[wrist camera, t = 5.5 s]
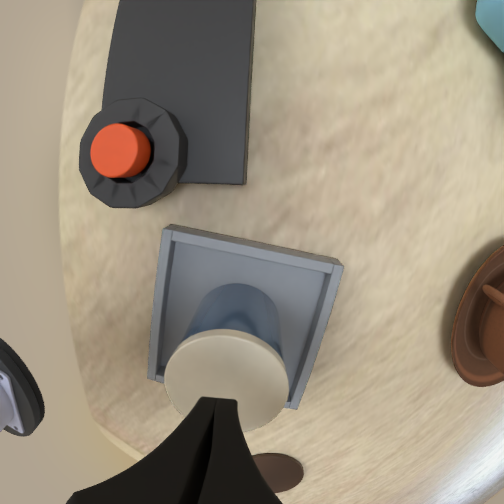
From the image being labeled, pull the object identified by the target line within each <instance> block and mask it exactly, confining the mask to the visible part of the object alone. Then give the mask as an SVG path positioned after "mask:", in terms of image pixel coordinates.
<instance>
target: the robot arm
mask: <svg viewBox="0 0 504 504" xmlns="http://www.w3.org/2000/svg"><path fill="white" fill-rule="evenodd" d="M6 425H8V426H9V427H11V428H13V429H15V430H16V431H18V432H20V433H24V431H25V430H24V427H23V424H22V420H21V417H20V414H19V410H18V407H17V403H16V399H15V396H14V392H13V388H12V383H11V379H10V377H9V376H8V374H6V373H4V372H3V371H1V370H0V432H1V431H2V430H3V429H4V428H5V426H6ZM66 504H282V502H281V501H280V500H279V499H278V497H277V496H276V495H275V493H274V492H273V491H272V489H271V488H270V487H269V485H268V484H267V482H266V481H265V479H264V477H263V476H262V474H261V472H260V471H259V469H258V467H257V465H256V463H255V461H254V459H253V457H252V455H251V453H250V451H249V448H248V446H247V443H246V441H245V438H244V435H243V432H242V429H241V425H240V421H239V416H238V402H237V401H236V400H235V399H226V398H215V397H204V396H202V397H200V398H199V400H198V401H197V403H196V404H195V406H194V407H193V408H192V410H191V411H190V412H189V414H188V415H187V416H186V418H185V419H184V420H183V421H182V422H181V423H180V425H179V426H178V427H177V428H176V429H175V430H174V431H173V432H172V433H171V434H170V435H169V436H168V437H167V438H166V439H165V440H164V441H163V442H162V443H161V444H160V445H159V446H158V447H157V448H156V449H154V450H153V451H152V452H151V453H149V454H148V455H147V456H146V457H144V458H143V459H142V460H140V461H139V462H137V463H136V464H134V465H133V466H131V467H130V468H128V469H127V470H125V471H123V472H121V473H120V474H118V475H116V476H114V477H112V478H110V479H108V480H106V481H104V482H101V483H99V484H97V485H94V486H92V487H89V488H86V489H83V490H80V491H77V492H74V493H73V495H72V496H71V497H70V499H69V500H68V501H67V503H66Z"/></svg>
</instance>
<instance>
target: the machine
mask: <svg viewBox="0 0 504 504" xmlns="http://www.w3.org/2000/svg"><path fill="white" fill-rule="evenodd" d="M255 12H256V0H120V1H119V6H118V10H117V14H116V19H115V24H114V29H113V34H112V39H111V45H110V50H109V56H108V63H107V69H106V77H105V84H104V92H103V101H102V110H101V111H100V112H99V113H97V114H96V115H95V116H94V117H93V118H92V120H91V122H90V124H89V126H88V127H87V129H86V131H85V133H84V135H83V137H82V139H81V142H80V154H79V170H80V173H81V175H82V177H83V179H84V181H85V184H86V186H87V188H88V190H89V192H90V194H92V195H93V196H94V197H96V198H97V199H99V200H100V201H102V202H103V203H105V204H106V205H108V206H109V207H112V208H139V207H143V206H147V205H151V204H152V203H154V202H156V201H158V200H159V199H161V198H163V197H164V196H166V195H168V194H169V193H171V192H172V191H173V190H174V188H175V186H176V185H177V183H197V184H230V185H244V184H246V180H247V159H248V139H249V120H250V100H251V82H252V64H253V46H254V29H255ZM115 123H119V124H124V125H127V126H130V127H132V128H135V129H138V130H140V131H142V132H143V133H144V134H145V135H146V136H147V138H148V140H149V142H150V147H151V154H150V159H149V162H148V164H147V165H146V167H145V168H144V169H143V170H142V171H141V172H140V173H139V174H137V175H135V176H133V177H123V178H109V177H105V176H103V175H101V174H100V173H99V172H98V171H97V170H96V169H95V168H94V166H93V164H92V161H91V146H92V142H93V140H94V138H95V136H96V135H97V134H98V132H99V131H100V130H102V129H103V128H104V127H106V126H108V125H111V124H115Z"/></svg>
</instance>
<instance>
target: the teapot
mask: <svg viewBox="0 0 504 504" xmlns="http://www.w3.org/2000/svg"><path fill="white" fill-rule="evenodd" d="M475 15H476V20H477V22H478V24H479V25H480V27H481V28H482V29H483V31H484V32H485V33H486V34H487V35H488V37H489V38H490V39H491V40H492V41H493V42H494V43H495V44H496V46H497V47H498V48H499V49H500V50H501V51H502V52H503V53H504V0H477V4H476V12H475Z"/></svg>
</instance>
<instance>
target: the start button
mask: <svg viewBox="0 0 504 504" xmlns="http://www.w3.org/2000/svg"><path fill="white" fill-rule="evenodd" d="M150 154H151V147H150V142H149V140H148V138H147V136H146V135H145V134H144V133H143V132H142V131H140V130H138V129H135V128H132V127H130V126H127V125H124V124H119V123H115V124H111V125H108V126H106V127H104V128H103V129H102V130H100V131H99V132H98V134H97V135H96V136H95V138H94V140H93V142H92V146H91V161H92V164H93V166H94V168H95V169H96V170H97V171H98V172H99V173H100V174H101V175H103V176H105V177H109V178H123V177H133V176H135V175H137V174H139V173H140V172H141V171H142V170H143V169H144V168H145V167H146V165H147V164H148V162H149V159H150Z"/></svg>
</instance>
